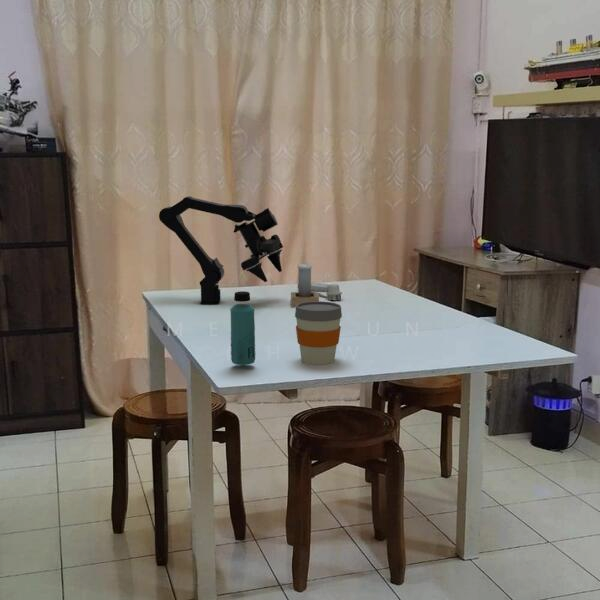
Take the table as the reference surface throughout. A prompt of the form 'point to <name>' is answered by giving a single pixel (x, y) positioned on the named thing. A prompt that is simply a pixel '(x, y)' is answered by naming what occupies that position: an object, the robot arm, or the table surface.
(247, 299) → the beverage bottle
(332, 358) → the reusable coffee cup
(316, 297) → the socket flange
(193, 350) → the table surface
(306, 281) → the tube
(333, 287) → the white elongated device
